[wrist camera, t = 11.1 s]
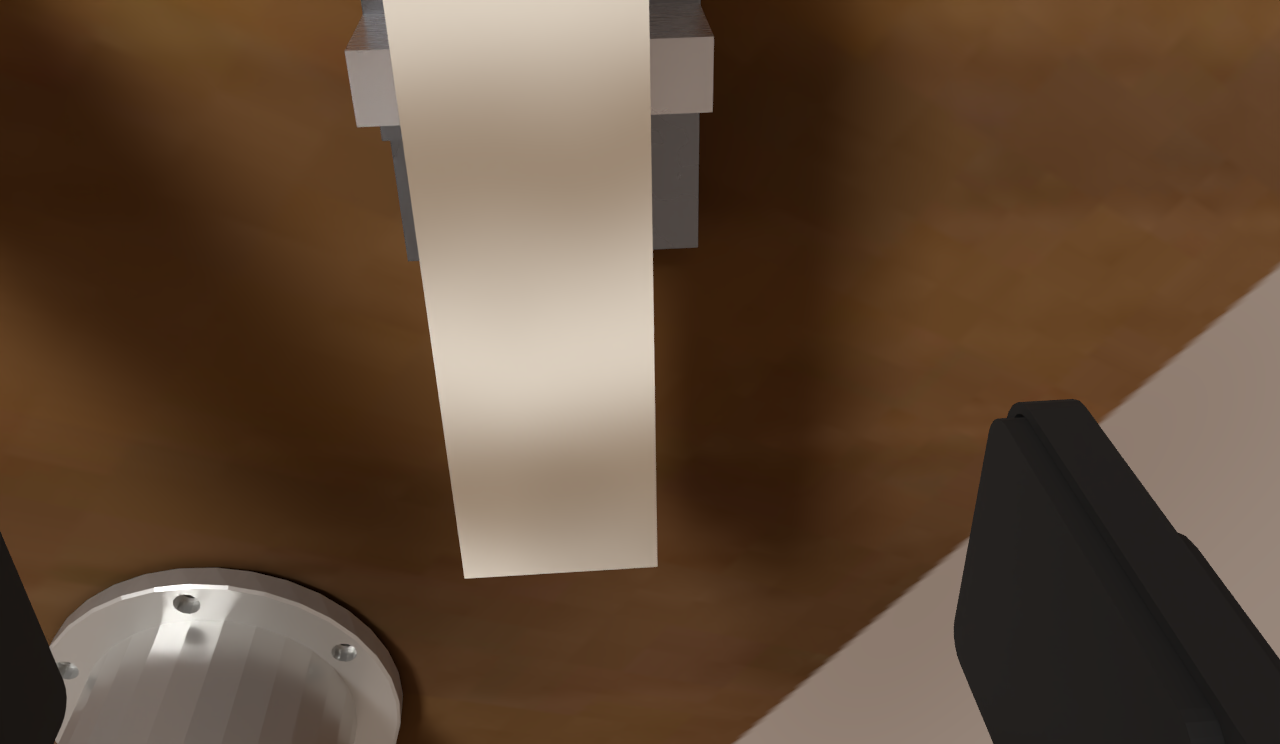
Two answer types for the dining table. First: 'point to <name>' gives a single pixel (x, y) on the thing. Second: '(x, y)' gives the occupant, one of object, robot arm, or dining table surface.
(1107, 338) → the dining table surface
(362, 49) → the fulcrum stand
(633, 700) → the dining table surface
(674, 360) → the dining table surface
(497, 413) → the ash bar
